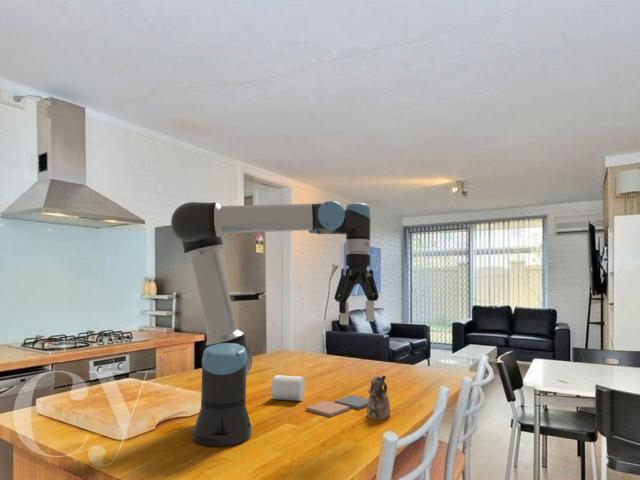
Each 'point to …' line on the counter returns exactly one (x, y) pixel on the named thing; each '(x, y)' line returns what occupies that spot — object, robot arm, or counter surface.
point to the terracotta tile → (327, 408)
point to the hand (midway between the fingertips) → (357, 322)
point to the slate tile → (353, 402)
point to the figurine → (378, 399)
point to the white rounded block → (288, 388)
